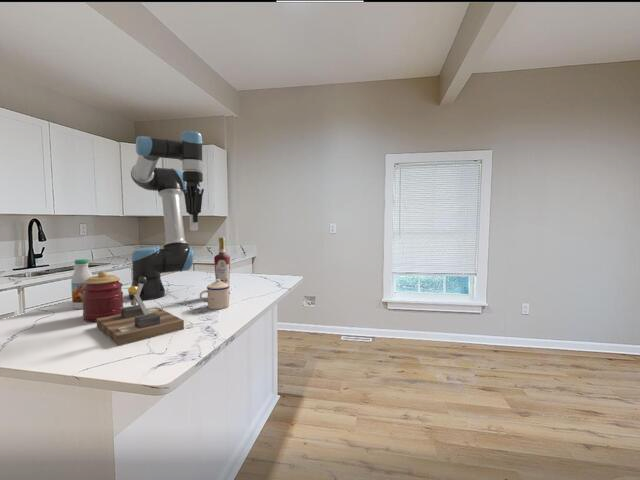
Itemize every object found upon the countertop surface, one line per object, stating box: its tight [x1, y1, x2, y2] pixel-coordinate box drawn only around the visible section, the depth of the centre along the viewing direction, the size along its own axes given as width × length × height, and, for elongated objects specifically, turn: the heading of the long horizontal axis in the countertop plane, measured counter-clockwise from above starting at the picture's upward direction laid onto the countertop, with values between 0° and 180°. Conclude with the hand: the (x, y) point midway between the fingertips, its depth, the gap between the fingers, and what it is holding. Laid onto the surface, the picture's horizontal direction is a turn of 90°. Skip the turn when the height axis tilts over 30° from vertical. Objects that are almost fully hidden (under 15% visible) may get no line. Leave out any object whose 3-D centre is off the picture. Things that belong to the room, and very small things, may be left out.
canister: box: [81, 270, 124, 323], centre depth 125 cm, size 13×13×18 cm
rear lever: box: [130, 276, 147, 306], centre depth 119 cm, size 3×3×11 cm
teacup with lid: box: [199, 279, 230, 310], centre depth 139 cm, size 12×9×12 cm
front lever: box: [127, 286, 149, 315], centre depth 106 cm, size 3×3×11 cm
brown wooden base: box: [96, 304, 185, 347], centre depth 113 cm, size 23×20×6 cm
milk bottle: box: [70, 258, 93, 310], centre depth 137 cm, size 8×8×20 cm
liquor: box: [213, 237, 231, 295], centre depth 156 cm, size 7×7×28 cm
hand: (194, 230), depth 134 cm, fingers closed
